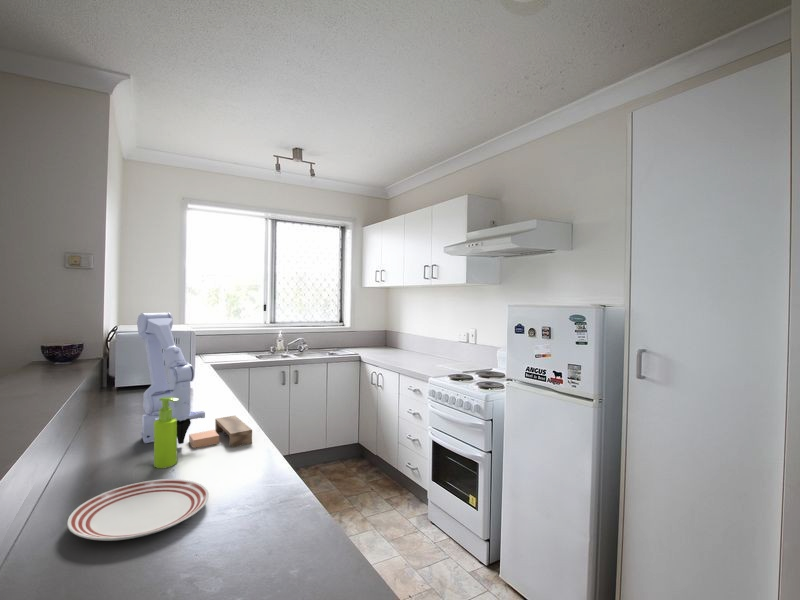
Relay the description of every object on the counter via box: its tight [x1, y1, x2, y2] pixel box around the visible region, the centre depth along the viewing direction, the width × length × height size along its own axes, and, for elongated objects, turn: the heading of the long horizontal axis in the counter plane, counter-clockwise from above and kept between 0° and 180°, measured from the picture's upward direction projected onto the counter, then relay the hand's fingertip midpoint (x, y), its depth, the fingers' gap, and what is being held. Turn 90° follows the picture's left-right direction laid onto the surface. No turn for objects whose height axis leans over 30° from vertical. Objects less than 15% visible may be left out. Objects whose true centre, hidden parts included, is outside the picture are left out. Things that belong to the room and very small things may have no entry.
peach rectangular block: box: [188, 429, 220, 449], centre depth 144 cm, size 8×7×3 cm
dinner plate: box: [66, 478, 210, 542], centre depth 97 cm, size 28×27×3 cm
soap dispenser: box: [153, 397, 179, 469], centre depth 125 cm, size 6×7×20 cm
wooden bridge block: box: [214, 415, 253, 448], centre depth 149 cm, size 7×20×5 cm, turn 37°
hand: (180, 442), depth 139 cm, fingers closed
